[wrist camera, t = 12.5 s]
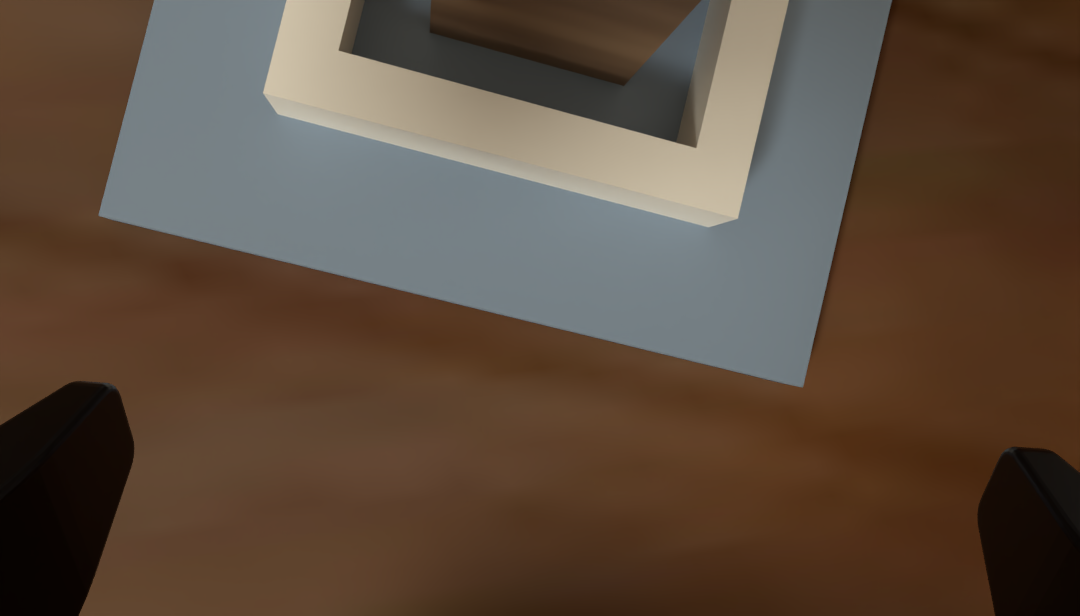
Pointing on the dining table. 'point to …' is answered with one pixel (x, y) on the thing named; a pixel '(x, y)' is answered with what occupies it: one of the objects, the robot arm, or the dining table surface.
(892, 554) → the dining table surface
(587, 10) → the walnut pillar
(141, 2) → the dining table surface
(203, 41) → the socket
